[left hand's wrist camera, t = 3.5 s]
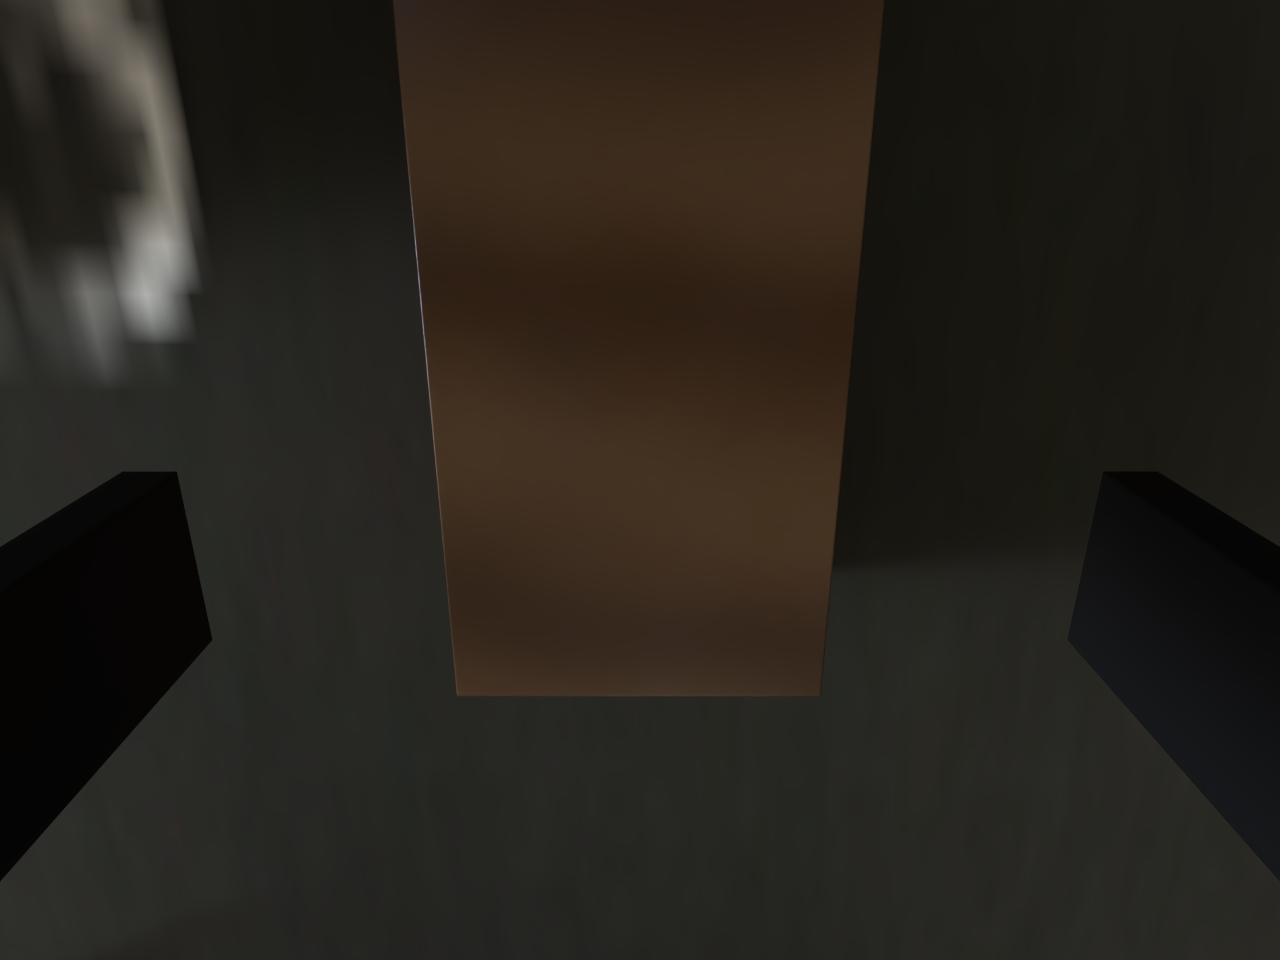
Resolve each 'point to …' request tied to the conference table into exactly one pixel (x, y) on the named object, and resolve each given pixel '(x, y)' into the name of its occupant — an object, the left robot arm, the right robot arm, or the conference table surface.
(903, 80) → the conference table surface
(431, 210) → the wooden beam
